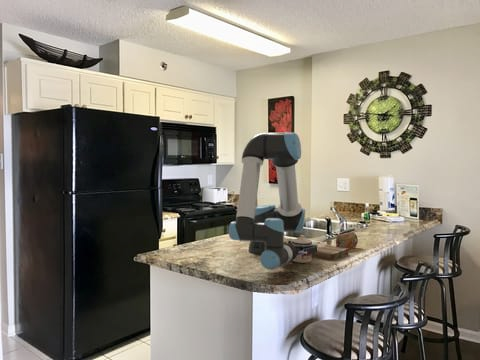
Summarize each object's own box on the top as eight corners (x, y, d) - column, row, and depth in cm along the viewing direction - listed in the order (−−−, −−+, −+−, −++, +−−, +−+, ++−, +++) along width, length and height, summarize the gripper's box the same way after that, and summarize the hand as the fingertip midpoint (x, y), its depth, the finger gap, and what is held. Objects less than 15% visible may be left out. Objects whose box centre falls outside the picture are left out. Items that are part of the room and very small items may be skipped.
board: (332, 260, 178) (332, 254, 178) (309, 256, 186) (310, 250, 186) (348, 254, 190) (348, 248, 190) (326, 250, 198) (326, 244, 198)
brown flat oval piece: (339, 251, 197) (339, 235, 197) (334, 250, 200) (334, 234, 200) (358, 248, 206) (358, 232, 206) (353, 246, 209) (353, 231, 208)
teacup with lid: (303, 264, 171) (304, 237, 170) (287, 260, 177) (288, 235, 177) (319, 259, 179) (320, 234, 178) (303, 256, 186) (304, 231, 185)
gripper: (263, 258, 169) (286, 249, 188) (309, 266, 157) (329, 255, 176) (263, 241, 169) (286, 233, 188) (309, 247, 157) (329, 238, 176)
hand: (307, 244), depth 182 cm, fingers closed on teacup with lid, 9 cm apart
